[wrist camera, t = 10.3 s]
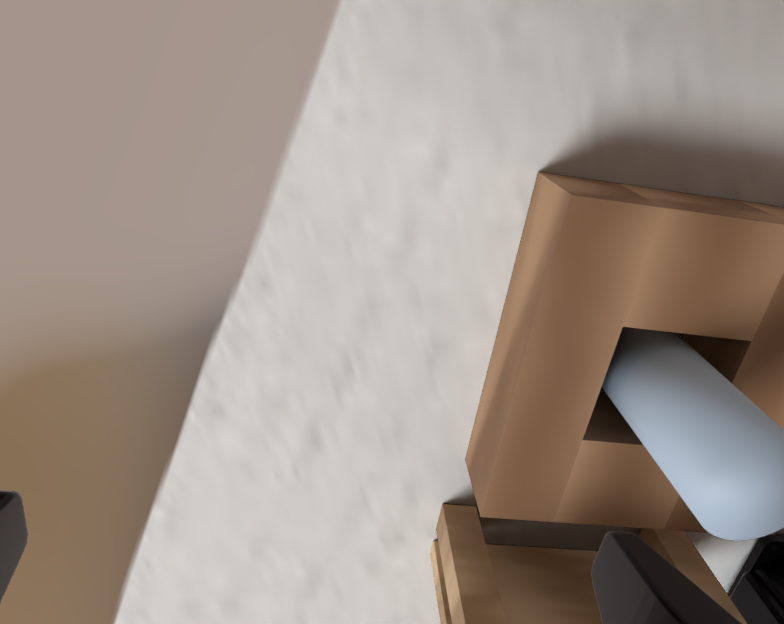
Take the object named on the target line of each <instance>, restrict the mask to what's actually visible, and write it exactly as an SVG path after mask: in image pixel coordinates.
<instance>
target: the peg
mask: <svg viewBox="0 0 784 624" xmlns="http://www.w3.org/2000/svg"><path fill="white" fill-rule="evenodd" d="M602 388H603V390H604V391H605V392H606V394H607V395H608V397H609V398H610V399H611V401H612V402H613V403H614V405H615V406H616V408H617V409H618V410H619V412H620V413H621V415H622V416H623V417H624V419H625V420H626V421H627V423H628V424H629V426H630V427H631V428H632V430H633V431H634V433H635V434H636V435H637V437H638V438H639V439H640V441H641V442H642V444H643V445H644V446H645V448H646V449H647V451H648V452H649V453H650V455H651V456H652V457H653V459H654V460H655V462H656V463H657V464H658V466H659V467H660V469H661V470H662V471H663V473H664V474H665V475H666V477H667V478H668V480H669V481H670V482H671V484H672V485H673V487H674V488H675V489H676V491H677V492H678V493H679V495H680V496H681V498H682V499H683V500H684V502H685V503H686V505H687V506H688V507H689V509H690V510H691V511H692V513H693V514H694V516H695V517H696V518H697V520H698V521H699V523H700V524H701V525H702V526H703V528H704V529H705V530H707V531H708V532H709V533H711V534H712V535H714V536H717V537H719V538H723V539H727V540H750V539H755V538H759V537H763V536H766V535H769V534H772V533H774V532H776V531H778V530H780V529H782V528H784V430H783V429H782V428H781V427H780V426H779V425H778V424H777V423H775V422H774V421H773V420H772V419H771V418H770V417H769V416H768V415H766V414H765V413H764V412H763V411H762V410H761V409H760V408H759V407H758V406H756V405H755V404H754V403H753V402H752V401H751V400H750V399H749V398H748V397H746V396H745V395H744V394H743V393H742V392H741V391H740V390H739V389H737V388H736V387H735V386H734V385H733V384H732V383H731V382H730V381H729V380H727V379H726V378H725V377H724V376H723V375H722V374H721V373H720V372H719V371H717V370H716V369H715V368H714V367H713V366H712V365H711V364H710V363H708V362H707V361H706V360H705V359H704V358H703V357H702V356H701V355H700V354H698V353H697V352H696V351H695V350H694V349H693V348H692V347H691V346H689V345H688V344H687V343H686V342H685V341H684V340H683V339H682V338H681V337H679V336H678V335H677V334H676V333H675V332H666V331H657V330H648V329H639V328H630V327H623V328H622V331H621V334H620V336H619V339H618V342H617V345H616V348H615V350H614V353H613V356H612V359H611V362H610V364H609V367H608V370H607V373H606V376H605V378H604V381H603V384H602Z"/></svg>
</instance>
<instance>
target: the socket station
mask: <svg viewBox="0 0 784 624" xmlns="http://www.w3.org/2000/svg"><path fill="white" fill-rule="evenodd" d="M623 327H630V328H639V329H648V330H657V331H666V332H675V333H684V334H683V336H682V339H683V340H684V341H685V342H686V343H687V344H688V345H689V346H691V347H692V348H693V349H694V350H695V351H696V352H697V353H698V354H700V355H701V356H702V357H703V358H704V359H705V360H706V361H707V362H708V363H710V364H711V365H712V366H713V367H714V368H715V369H716V370H717V371H719V372H720V373H721V374H722V375H723V376H724V377H725V378H726V379H727V380H729V381H730V382H731V383H732V384H733V385H734V386H735V387H736V388H737V389H739V390H740V391H741V392H742V393H743V394H744V395H745V396H746V397H748V398H749V399H750V400H751V401H752V402H753V403H754V404H755V405H756V406H758V407H759V408H760V409H761V410H762V411H763V412H764V413H765V414H766V415H768V416H769V417H770V418H771V419H772V420H773V421H774V422H775V423H777V424H778V425H779V426H780V427H781V428H782V429H783V430H784V207H779V206H772V205H765V204H758V203H751V202H744V201H737V200H730V199H723V198H716V197H709V196H702V195H695V194H688V193H681V192H674V191H667V190H660V189H653V188H646V187H639V186H632V185H625V184H618V183H611V182H604V181H597V180H590V179H583V178H576V177H569V176H562V175H555V174H548V173H541V172H538V174H537V178H536V182H535V186H534V190H533V194H532V198H531V202H530V206H529V210H528V214H527V218H526V222H525V225H524V229H523V233H522V237H521V241H520V245H519V249H518V253H517V257H516V261H515V265H514V269H513V273H512V277H511V281H510V285H509V289H508V292H507V296H506V300H505V304H504V308H503V312H502V316H501V320H500V324H499V328H498V332H497V336H496V340H495V344H494V348H493V352H492V356H491V359H490V363H489V367H488V371H487V375H486V379H485V383H484V387H483V391H482V395H481V399H480V403H479V407H478V411H477V415H476V419H475V423H474V426H473V430H472V434H471V438H470V442H469V446H468V450H467V454H466V458H465V461H466V464H467V468H468V472H469V476H470V480H471V483H472V487H473V491H474V495H475V498H476V502H477V506H478V510H479V513H480V517H486V518H501V519H516V520H530V521H545V522H560V523H574V524H589V525H604V526H618V527H633V528H642V530H641V532H640V534H639V537H640V538H641V539H642V540H643V541H645V542H646V543H647V544H648V545H649V546H651V547H652V548H653V549H654V550H655V551H657V552H658V553H659V554H660V555H661V556H662V557H664V558H665V559H666V560H667V561H668V562H670V563H671V564H672V565H673V566H674V567H676V568H677V569H678V570H679V571H680V572H681V573H683V574H684V575H685V576H686V577H687V578H689V579H690V580H691V581H692V582H693V583H695V584H696V585H697V586H698V587H699V588H700V589H702V590H703V591H704V592H705V593H706V594H708V595H709V596H710V597H711V598H712V599H714V600H715V601H716V602H717V603H718V604H719V605H721V606H722V607H723V608H724V609H725V610H727V611H728V612H729V613H730V614H731V615H733V616H734V617H735V618H736V619H737V620H738V621H740V622H741V623H742V624H747V623H746V621H745V620H744V618H743V617H742V615H741V614H740V612H739V611H738V609H737V608H736V606H735V605H734V603H733V602H732V600H731V599H730V597H729V596H728V595H727V593H726V592H725V590H724V589H723V587H722V586H721V584H720V583H719V581H718V580H717V578H716V577H715V575H714V574H713V572H712V571H711V570H710V568H709V567H708V565H707V564H706V562H705V561H704V559H703V558H702V556H701V555H700V553H699V552H698V550H697V549H696V547H695V546H694V544H693V543H692V542H691V540H690V539H689V537H688V536H687V534H686V533H685V531H691V532H706V533H709V532H708V531H707V530H705V529H704V528H703V526H702V525H701V524H700V523H699V521H698V520H697V518H696V517H695V516H694V514H693V513H692V511H691V510H690V509H689V507H688V506H687V505H686V503H685V502H684V500H683V499H682V498H681V496H680V495H679V493H678V492H677V491H676V489H675V488H674V487H673V485H672V484H671V482H670V481H669V480H668V478H667V477H666V475H665V474H664V473H663V471H662V470H661V469H660V467H659V466H658V464H657V463H656V462H655V460H654V459H653V457H652V456H651V455H650V453H649V452H648V451H647V449H646V448H645V446H644V445H643V444H642V442H641V441H640V439H639V438H638V437H637V435H636V434H635V433H634V431H633V430H632V428H631V427H630V426H629V424H628V423H627V421H626V420H625V419H624V417H623V416H622V415H621V413H620V412H619V410H618V409H617V408H616V406H615V405H614V403H613V402H612V401H611V399H610V398H609V397H608V395H607V394H599V393H600V390H601V387H602V384H603V381H604V378H605V376H606V373H607V370H608V367H609V364H610V362H611V359H612V356H613V353H614V350H615V348H616V345H617V342H618V339H619V336H620V334H621V331H622V328H623ZM436 531H437V537H438V541H433V545H432V549H431V553H430V554H431V561H432V568H433V575H434V581H435V588H436V595H437V601H438V608H439V615H440V622H441V624H602V620H601V615H600V611H599V607H598V603H597V599H596V595H595V591H594V587H593V583H592V576H591V571H592V565H593V562H594V560H595V558H596V555H597V553H598V551H588V550H572V549H556V548H540V547H524V546H508V545H492V544H486V543H485V539H484V535H483V531H482V528H481V524H480V520H479V516H478V512H477V509H476V506H465V505H451V504H442V508H441V512H440V516H439V520H438V524H437V528H436Z"/></svg>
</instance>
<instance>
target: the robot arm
mask: <svg viewBox="0 0 784 624" xmlns="http://www.w3.org/2000/svg"><path fill="white" fill-rule="evenodd" d="M27 537H28V531H27V525H26V519H25V513H24V506H23V501H22V497H21V495H20V494H19V493H18V492H15V491H6V490H0V603H1V600H2V598H3V596H4V594H5V591H6V589H7V587H8V585H9V583H10V581H11V578H12V576H13V574H14V572H15V569H16V567H17V565H18V563H19V560H20V558H21V556H22V554H23V552H24V549H25V546H26V543H27ZM591 576H592V583H593V587H594V591H595V595H596V599H597V603H598V607H599V611H600V615H601V620H602V624H742V623H741V622H740V621H738V620H737V619H736V618H735V617H734V616H733V615H731V614H730V613H729V612H728V611H727V610H725V609H724V608H723V607H722V606H721V605H719V604H718V603H717V602H716V601H715V600H714V599H712V598H711V597H710V596H709V595H708V594H706V593H705V592H704V591H703V590H702V589H700V588H699V587H698V586H697V585H696V584H695V583H693V582H692V581H691V580H690V579H689V578H687V577H686V576H685V575H684V574H683V573H681V572H680V571H679V570H678V569H677V568H676V567H674V566H673V565H672V564H671V563H670V562H668V561H667V560H666V559H665V558H664V557H662V556H661V555H660V554H659V553H658V552H657V551H655V550H654V549H653V548H652V547H651V546H649V545H648V544H647V543H646V542H645V541H643V540H642V539H641V538H640V537H639V536H637V535H636V534H634V533H632V532H625V531H609V532H608V533H606V534H605V536H604V538H603V541H602V543H601V545H600V548H599V550H598V553H597V555H596V558H595V560H594V562H593V565H592V571H591ZM728 596H729V597H730V599H731V600H732V602H733V603H734V605H735V606H736V608H737V609H738V611H739V612H740V614H741V615H742V617H743V618H744V620H745V621H746V623H747V624H784V535H774V534H771V535H766V536H764V537H762V538H761V539H760V540H759V541H758V542H757V544H756V546H755V548H754V549H753V551H752V553H751V555H750V556H749V558H748V560H747V562H746V563H745V565H744V567H743V569H742V570H741V572H740V574H739V576H738V577H737V579H736V581H735V583H734V585H733V586H732V588H731V590H730V592H729V593H728Z"/></svg>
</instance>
